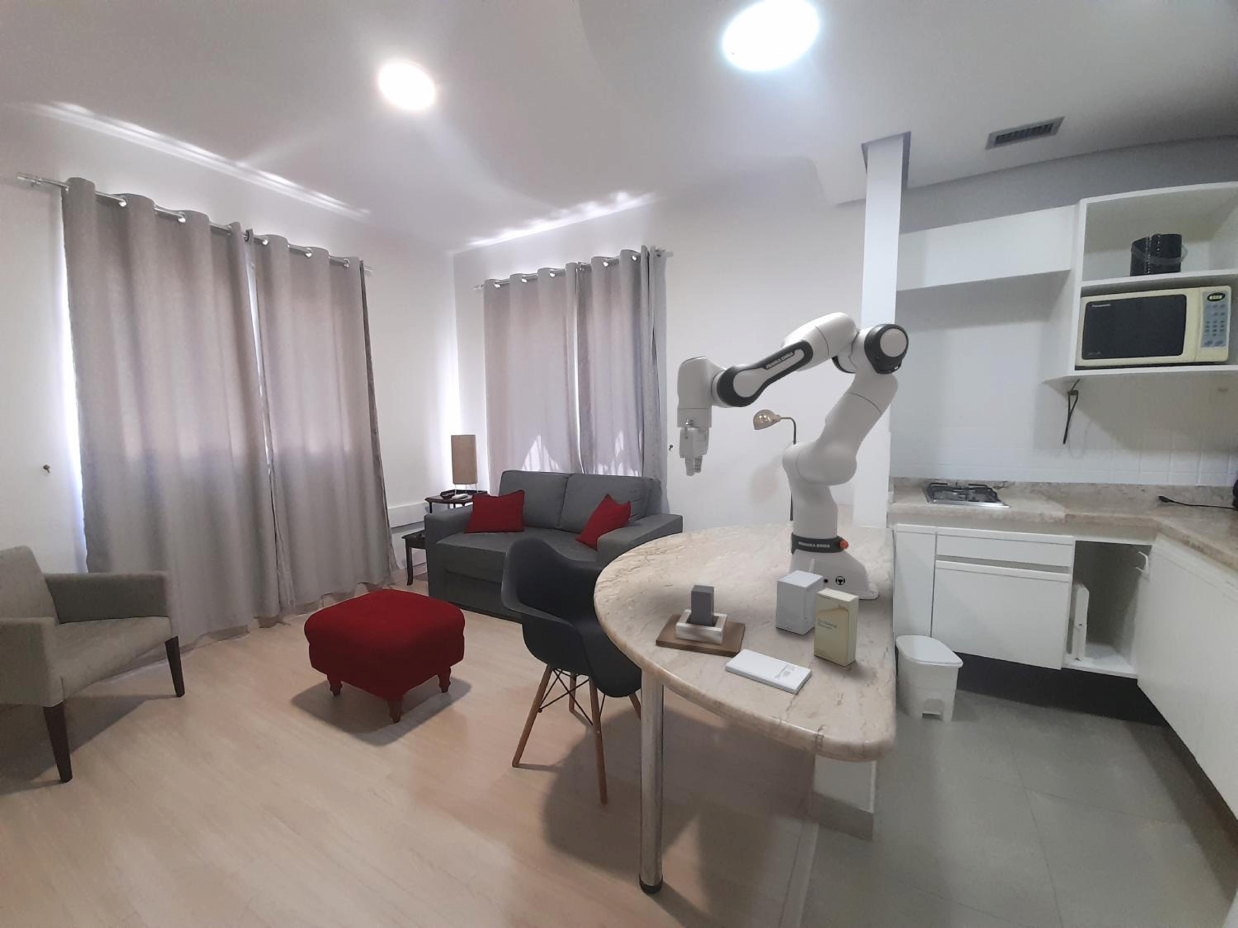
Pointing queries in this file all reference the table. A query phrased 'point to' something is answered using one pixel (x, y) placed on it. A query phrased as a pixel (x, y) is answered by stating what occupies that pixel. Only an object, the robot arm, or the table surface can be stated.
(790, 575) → the skincare box
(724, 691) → the table surface
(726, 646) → the socket board
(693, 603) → the plug
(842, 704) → the table surface
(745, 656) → the external hard drive
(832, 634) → the skincare box
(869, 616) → the table surface
